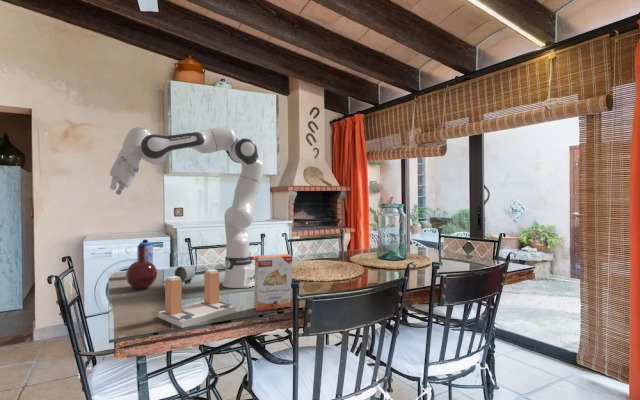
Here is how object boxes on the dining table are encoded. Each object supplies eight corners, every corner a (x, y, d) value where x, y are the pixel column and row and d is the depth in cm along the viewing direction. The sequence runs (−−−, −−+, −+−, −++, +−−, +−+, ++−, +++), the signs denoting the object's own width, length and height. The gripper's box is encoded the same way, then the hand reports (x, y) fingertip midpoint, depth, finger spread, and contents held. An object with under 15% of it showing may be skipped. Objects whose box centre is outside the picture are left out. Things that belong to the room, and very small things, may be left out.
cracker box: (257, 312, 139) (258, 257, 139) (253, 307, 145) (254, 255, 144) (292, 308, 145) (292, 255, 145) (287, 303, 150) (287, 253, 150)
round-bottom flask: (137, 293, 163) (137, 249, 163) (119, 289, 170) (120, 246, 169) (163, 287, 175) (163, 245, 174) (145, 283, 181) (145, 243, 181)
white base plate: (210, 303, 149) (210, 296, 149) (235, 312, 139) (235, 304, 139) (158, 317, 132) (158, 309, 132) (182, 327, 122) (182, 318, 122)
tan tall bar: (212, 300, 147) (213, 268, 146) (218, 302, 144) (219, 270, 144) (204, 302, 143) (204, 270, 143) (210, 304, 141) (210, 271, 141)
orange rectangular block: (175, 310, 134) (175, 275, 134) (181, 312, 132) (181, 277, 131) (165, 312, 131) (165, 277, 131) (170, 315, 128) (171, 278, 128)
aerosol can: (140, 275, 199) (140, 238, 198) (155, 275, 200) (155, 238, 199) (134, 278, 191) (134, 240, 191) (150, 278, 192) (150, 240, 192)
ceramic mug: (196, 278, 192) (196, 264, 192) (186, 282, 185) (186, 267, 185) (180, 277, 196) (180, 263, 196) (169, 281, 188) (169, 266, 188)
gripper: (130, 156, 149) (116, 188, 145) (139, 170, 168) (128, 198, 164) (113, 151, 147) (100, 183, 144) (125, 166, 167) (113, 194, 163)
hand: (115, 191), depth 154 cm, fingers open, 8 cm apart
